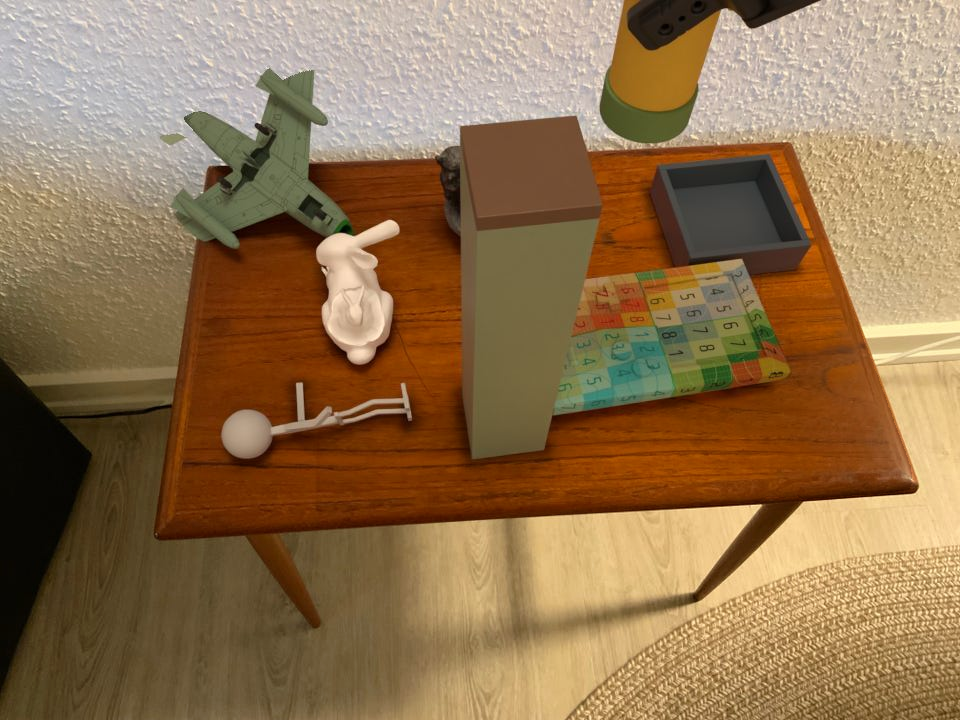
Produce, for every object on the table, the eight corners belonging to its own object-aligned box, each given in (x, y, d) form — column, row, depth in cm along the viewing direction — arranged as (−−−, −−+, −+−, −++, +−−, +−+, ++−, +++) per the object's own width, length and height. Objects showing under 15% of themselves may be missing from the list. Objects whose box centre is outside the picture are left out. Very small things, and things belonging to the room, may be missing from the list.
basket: (795, 270, 70) (812, 245, 67) (679, 283, 69) (690, 258, 66) (756, 180, 76) (769, 153, 72) (648, 191, 75) (657, 164, 71)
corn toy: (700, 139, 40) (770, -55, 31) (610, 147, 40) (653, -47, 30) (675, 78, 43) (733, -119, 33) (590, 85, 42) (625, -112, 33)
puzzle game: (524, 282, 63) (745, 252, 65) (520, 312, 67) (729, 283, 69) (554, 403, 58) (796, 366, 60) (548, 428, 62) (774, 392, 64)
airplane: (330, 236, 63) (379, 267, 73) (343, -9, 67) (388, 51, 76) (104, 253, 70) (176, 279, 80) (127, 30, 73) (193, 81, 83)
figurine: (397, 342, 58) (203, 377, 57) (410, 417, 56) (210, 454, 55) (402, 365, 64) (227, 397, 62) (414, 434, 62) (234, 468, 61)
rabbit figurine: (321, 265, 69) (301, 195, 61) (401, 255, 70) (392, 184, 62) (331, 377, 63) (310, 316, 55) (418, 364, 64) (411, 302, 56)
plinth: (544, 450, 61) (603, 204, 35) (471, 459, 60) (476, 217, 34) (531, 386, 64) (576, 114, 37) (462, 394, 63) (459, 125, 37)
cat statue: (562, 208, 73) (574, 131, 65) (561, 265, 70) (574, 192, 61) (441, 200, 74) (438, 123, 65) (435, 257, 70) (430, 183, 61)
